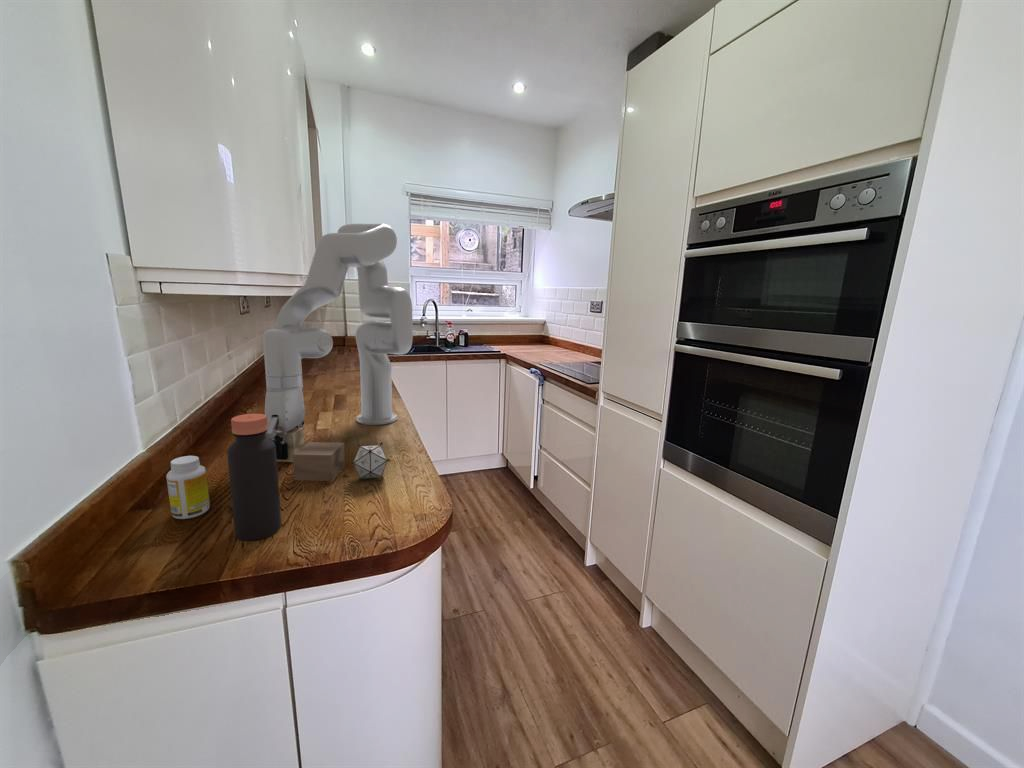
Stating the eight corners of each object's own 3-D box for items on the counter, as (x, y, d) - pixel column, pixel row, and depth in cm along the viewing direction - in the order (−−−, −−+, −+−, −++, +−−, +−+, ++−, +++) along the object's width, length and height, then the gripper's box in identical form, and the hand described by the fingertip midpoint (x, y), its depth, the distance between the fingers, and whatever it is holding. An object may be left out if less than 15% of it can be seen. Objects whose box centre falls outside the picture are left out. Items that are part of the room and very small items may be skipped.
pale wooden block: (284, 453, 104) (282, 427, 103) (304, 454, 104) (303, 427, 103) (273, 461, 99) (271, 433, 98) (294, 462, 100) (293, 434, 98)
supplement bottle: (215, 504, 79) (210, 453, 77) (201, 519, 73) (195, 464, 71) (181, 506, 77) (174, 454, 75) (164, 521, 72) (157, 466, 70)
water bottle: (286, 531, 71) (279, 418, 67) (240, 546, 66) (229, 426, 62) (274, 515, 76) (266, 409, 72) (230, 529, 71) (219, 416, 67)
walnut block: (309, 466, 98) (308, 441, 97) (344, 466, 99) (343, 442, 97) (294, 480, 90) (292, 454, 89) (332, 481, 91) (331, 455, 89)
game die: (375, 497, 92) (374, 474, 85) (342, 479, 93) (339, 456, 86) (398, 466, 98) (399, 443, 91) (366, 450, 99) (365, 426, 92)
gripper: (287, 374, 107) (291, 440, 110) (245, 389, 90) (252, 466, 93) (317, 376, 107) (320, 442, 110) (281, 390, 90) (286, 468, 93)
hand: (289, 452), depth 102 cm, fingers open, 6 cm apart
